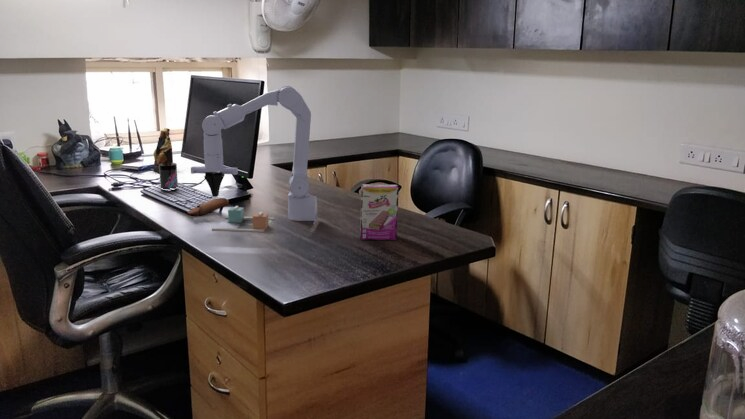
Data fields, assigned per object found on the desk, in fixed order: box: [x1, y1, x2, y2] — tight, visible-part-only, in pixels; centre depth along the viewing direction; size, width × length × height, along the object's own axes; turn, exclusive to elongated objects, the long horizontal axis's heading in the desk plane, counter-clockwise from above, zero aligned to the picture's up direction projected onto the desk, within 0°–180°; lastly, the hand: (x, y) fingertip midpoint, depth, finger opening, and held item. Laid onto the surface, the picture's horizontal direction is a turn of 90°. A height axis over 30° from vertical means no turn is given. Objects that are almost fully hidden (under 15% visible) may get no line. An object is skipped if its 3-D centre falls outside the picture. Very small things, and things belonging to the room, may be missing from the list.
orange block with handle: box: [252, 211, 270, 230], centre depth 191 cm, size 4×4×5 cm
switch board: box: [211, 216, 275, 233], centre depth 195 cm, size 16×15×2 cm
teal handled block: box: [227, 205, 245, 224], centre depth 198 cm, size 4×4×5 cm
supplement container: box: [159, 162, 179, 189], centre depth 246 cm, size 7×7×10 cm
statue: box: [152, 127, 174, 174], centre depth 281 cm, size 12×8×20 cm, turn 37°
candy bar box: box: [359, 183, 399, 241], centre depth 185 cm, size 11×5×16 cm, turn 92°
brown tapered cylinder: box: [187, 197, 230, 216], centre depth 214 cm, size 18×7×7 cm
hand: (215, 195), depth 197 cm, fingers closed
